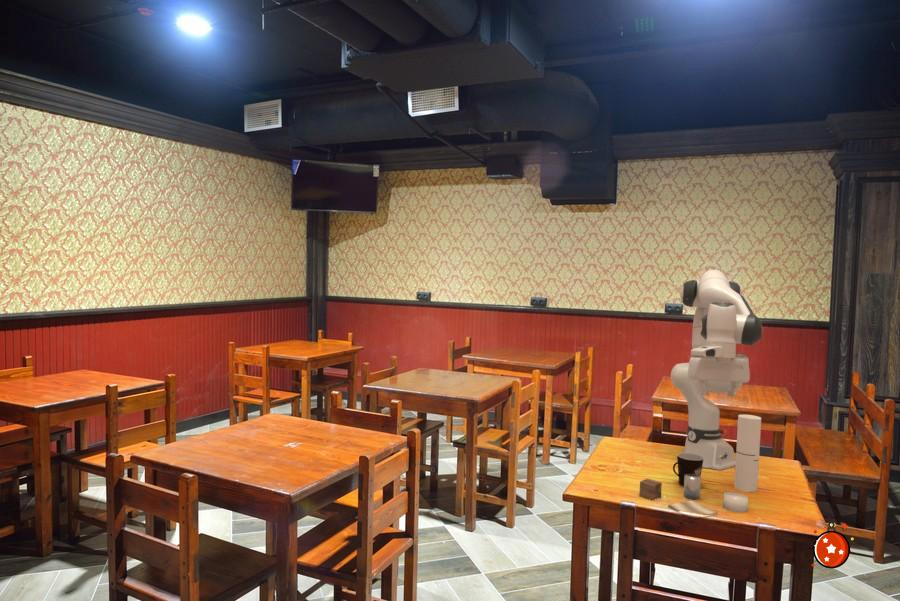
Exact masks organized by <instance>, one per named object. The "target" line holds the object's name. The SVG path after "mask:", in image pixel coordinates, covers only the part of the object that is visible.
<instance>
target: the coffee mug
mask: <svg viewBox="0 0 900 601" xmlns="http://www.w3.org/2000/svg"><path fill="white" fill-rule="evenodd" d="M676 458H677V460H676V462H675V463H674V464H673V465H672V471H673V473H674V475H676V476H678V484H679V486H681V487H684V477H685V474H695V475H698V476H700V477H701V476H702V470H703V467H702V465H703V459H704V458H703V457H702V456H700V455H696V454H692V453H684V452H679V453H677V455H676ZM676 466H677V471H678V472H676V470H675V469H676Z"/></svg>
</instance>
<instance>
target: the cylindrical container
mask: <svg viewBox="0 0 900 601" xmlns="http://www.w3.org/2000/svg"><path fill="white" fill-rule="evenodd" d="M737 416H738V417H737V431H736V432H737V433H736V434H737V435H736V449H735V450H736V453H735V459H736V466H734V467H735V470H734V485H733V486H734V489H736V490H738V491H741V492H745V493H756V492H758V486H759V485H758V482H759V469H760V468H759V466H760V450H761V449H760V447H761V433H762V432H761V430H762V417H760V416H757V415H753V414H738V415H737Z"/></svg>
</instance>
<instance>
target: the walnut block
mask: <svg viewBox="0 0 900 601" xmlns="http://www.w3.org/2000/svg"><path fill="white" fill-rule="evenodd" d="M662 486H663V485H662V482H661V481H659V480H655V479H651V478H645V479H643V480H641V481H639V493H638V496H639V497H640V498H644V499H647V500H649V499H650V500H649V501H653V500H654V501H656V500H658V499H660V498H662ZM657 498H658V499H657ZM655 499H656V500H655Z"/></svg>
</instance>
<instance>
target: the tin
mask: <svg viewBox="0 0 900 601" xmlns="http://www.w3.org/2000/svg"><path fill="white" fill-rule="evenodd" d="M701 482H702V477H701V476H698V475H695V474H685V477H684V486H683V497H684V498H685V499H687V500H690V499H691V500H690V501H698V499H699V500H700V499H701Z"/></svg>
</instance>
